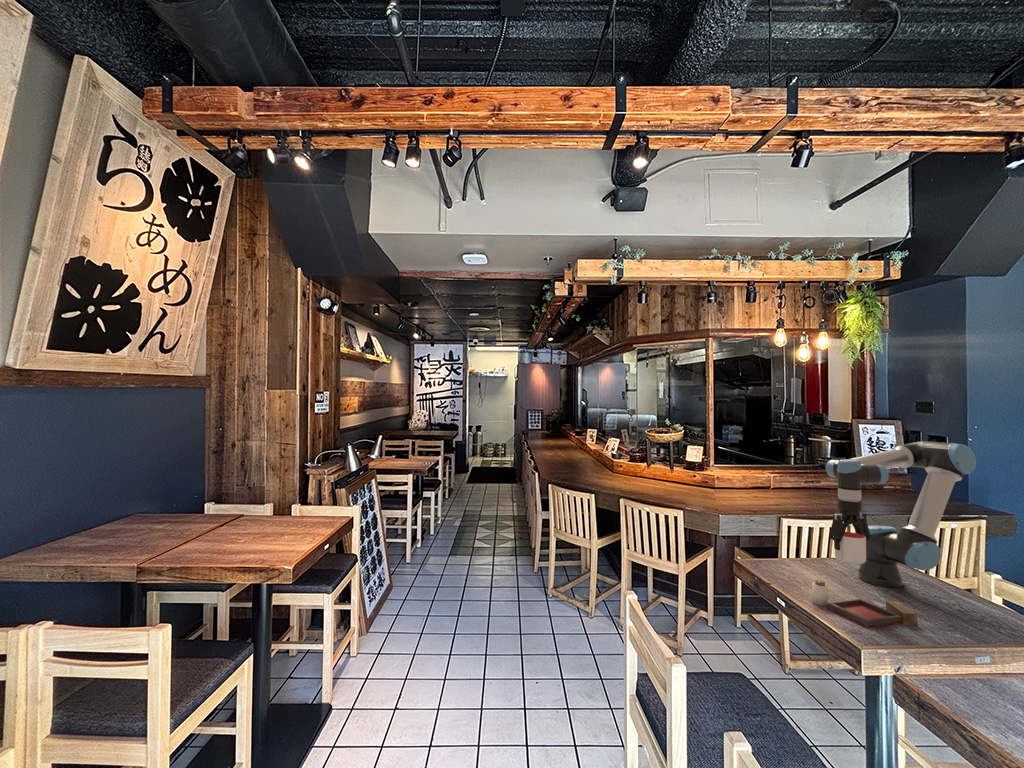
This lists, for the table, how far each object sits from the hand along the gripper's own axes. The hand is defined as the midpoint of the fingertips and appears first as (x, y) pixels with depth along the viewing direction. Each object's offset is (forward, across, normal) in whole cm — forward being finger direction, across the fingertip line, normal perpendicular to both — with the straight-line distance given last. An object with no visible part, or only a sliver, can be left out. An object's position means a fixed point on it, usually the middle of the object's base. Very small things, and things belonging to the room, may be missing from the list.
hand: (850, 557), depth 184 cm
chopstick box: (+16, -2, +17) cm, 24 cm away
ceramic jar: (+16, +15, +1) cm, 22 cm away
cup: (+2, 0, 0) cm, 2 cm away
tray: (+16, +9, +13) cm, 23 cm away
